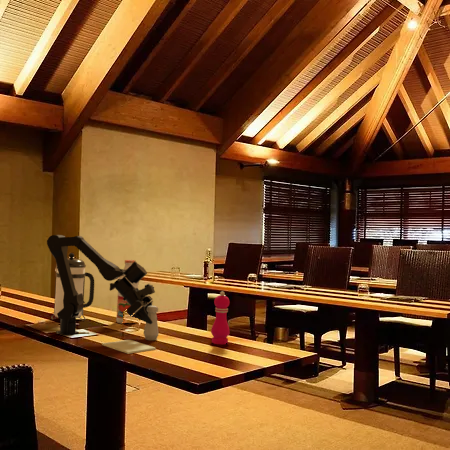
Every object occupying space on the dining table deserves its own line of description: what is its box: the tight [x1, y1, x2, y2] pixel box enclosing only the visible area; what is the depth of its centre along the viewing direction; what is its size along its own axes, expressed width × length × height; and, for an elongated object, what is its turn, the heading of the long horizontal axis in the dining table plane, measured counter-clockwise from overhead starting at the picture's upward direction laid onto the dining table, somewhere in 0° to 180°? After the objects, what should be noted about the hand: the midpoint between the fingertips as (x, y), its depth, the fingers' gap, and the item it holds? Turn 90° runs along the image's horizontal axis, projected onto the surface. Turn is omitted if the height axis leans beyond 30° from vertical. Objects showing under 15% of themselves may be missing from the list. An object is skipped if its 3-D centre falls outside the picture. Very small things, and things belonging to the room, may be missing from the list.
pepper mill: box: [210, 291, 231, 345], centre depth 210 cm, size 7×7×20 cm
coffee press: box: [50, 252, 95, 322], centre depth 243 cm, size 17×16×30 cm
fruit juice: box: [116, 259, 140, 325], centre depth 243 cm, size 9×9×28 cm
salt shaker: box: [143, 305, 159, 341], centre depth 210 cm, size 6×6×13 cm
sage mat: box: [101, 339, 157, 355], centre depth 194 cm, size 16×12×1 cm
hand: (154, 321), depth 210 cm, fingers open, 9 cm apart
